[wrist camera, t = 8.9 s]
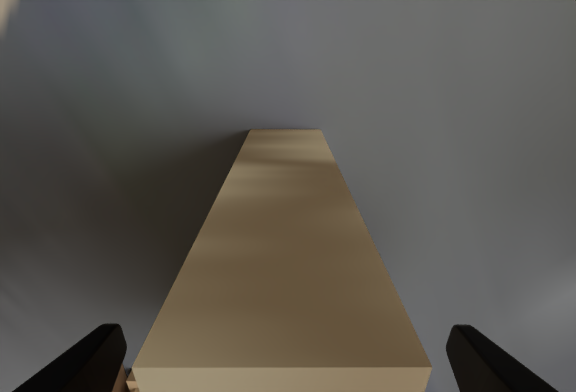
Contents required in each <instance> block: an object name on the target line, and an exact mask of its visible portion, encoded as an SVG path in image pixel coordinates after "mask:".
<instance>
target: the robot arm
mask: <svg viewBox="0 0 576 392" xmlns="http://www.w3.org/2000/svg"><path fill="white" fill-rule="evenodd" d="M126 350H127V344H126V341H125V338H124V334H123V331H122V328H121V326H120V325H119V324H102V325H100V326H99V327H97V328H96V329H95V330H93V331H92V332H91V333H89V334H88V335H87V336H85V337H84V338H83V339H81V340H80V341H79V342H77V343H76V344H75V345H73V346H72V347H71V348H69V349H68V350H67V351H65V352H64V353H63V354H61V355H60V356H59V357H57V358H56V359H55V360H53V361H52V362H51V363H49V364H48V365H47V366H45V367H44V368H43V369H41V370H40V371H39V372H37V373H36V374H35V375H33V376H32V377H31V378H29V379H28V380H27V381H25V382H24V383H23V384H21V385H20V386H19V387H17V388H16V389H15V390H14V391H12V392H112V391H113V388H114V385H115V382H116V379H117V377H118V374H119V371H120V368H121V365H122V363H123V360H124V357H125V354H126ZM446 352H447V356H448V359H449V362H450V364H451V367H452V370H453V373H454V376H455V379H456V382H457V384H458V387H459V390H460V392H558V391H557V390H556V389H554V388H553V387H552V386H550V385H549V384H548V383H546V382H545V381H544V380H543V379H541V378H540V377H539V376H537V375H536V374H535V373H533V372H532V371H531V370H529V369H528V368H527V367H525V366H524V365H523V364H521V363H520V362H519V361H517V360H516V359H515V358H514V357H512V356H511V355H510V354H508V353H507V352H506V351H504V350H503V349H502V348H500V347H499V346H498V345H496V344H495V343H494V342H492V341H491V340H490V339H488V338H487V337H486V336H484V335H483V334H482V333H481V332H479V331H478V330H477V329H475V328H474V327H472V326H471V325H454V326H453V327H452V329H451V332H450V335H449V338H448V341H447V344H446Z"/></svg>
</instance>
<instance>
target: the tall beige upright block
mask: <svg viewBox="0 0 576 392" xmlns="http://www.w3.org/2000/svg"><path fill="white" fill-rule="evenodd" d="M431 370H432V366H431V364H430V362H429V359H428V357H427V355H426V353H425V351H424V349H423V347H422V345H421V342H420V340H419V338H418V336H417V334H416V332H415V330H414V328H413V325H412V323H411V321H410V319H409V317H408V315H407V313H406V310H405V308H404V306H403V304H402V302H401V300H400V298H399V296H398V293H397V291H396V289H395V287H394V285H393V283H392V281H391V279H390V276H389V274H388V272H387V270H386V268H385V266H384V264H383V262H382V259H381V257H380V255H379V253H378V251H377V249H376V247H375V245H374V242H373V240H372V238H371V236H370V234H369V232H368V230H367V228H366V225H365V223H364V221H363V219H362V217H361V215H360V213H359V211H358V208H357V206H356V204H355V202H354V200H353V198H352V196H351V193H350V191H349V189H348V187H347V185H346V183H345V181H344V179H343V176H342V174H341V172H340V170H339V168H338V166H337V164H336V162H335V159H334V157H333V155H332V153H331V151H330V149H329V147H328V145H327V142H326V140H325V138H324V136H323V134H322V132H321V130H320V129H251V130H250V132H249V134H248V136H247V138H246V140H245V142H244V144H243V146H242V148H241V150H240V152H239V154H238V156H237V158H236V160H235V162H234V164H233V166H232V168H231V170H230V172H229V174H228V176H227V178H226V180H225V182H224V184H223V186H222V188H221V190H220V192H219V194H218V196H217V198H216V200H215V202H214V204H213V206H212V208H211V210H210V212H209V214H208V216H207V218H206V220H205V222H204V224H203V226H202V228H201V230H200V232H199V234H198V236H197V238H196V240H195V242H194V244H193V246H192V248H191V250H190V252H189V254H188V256H187V258H186V260H185V262H184V264H183V266H182V268H181V270H180V272H179V274H178V276H177V278H176V280H175V282H174V284H173V286H172V288H171V290H170V292H169V294H168V296H167V298H166V300H165V302H164V304H163V306H162V308H161V310H160V312H159V314H158V316H157V318H156V320H155V322H154V324H153V326H152V328H151V330H150V332H149V334H148V336H147V338H146V340H145V342H144V344H143V346H142V348H141V350H140V352H139V354H138V356H137V358H136V360H135V362H134V364H133V366H132V371H133V374H134V377H135V380H136V383H137V385H138V388H139V391H140V392H424V391H425V388H426V385H427V382H428V379H429V376H430V373H431Z"/></svg>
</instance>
